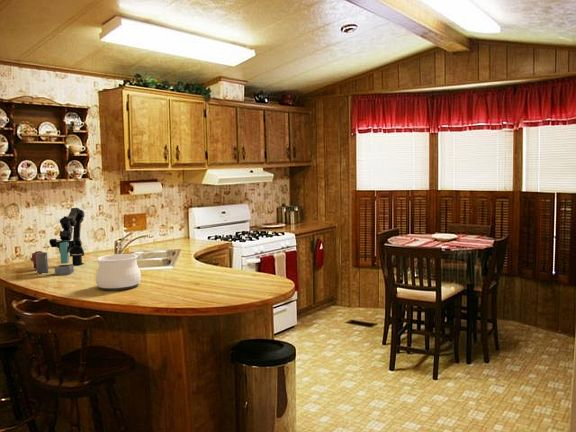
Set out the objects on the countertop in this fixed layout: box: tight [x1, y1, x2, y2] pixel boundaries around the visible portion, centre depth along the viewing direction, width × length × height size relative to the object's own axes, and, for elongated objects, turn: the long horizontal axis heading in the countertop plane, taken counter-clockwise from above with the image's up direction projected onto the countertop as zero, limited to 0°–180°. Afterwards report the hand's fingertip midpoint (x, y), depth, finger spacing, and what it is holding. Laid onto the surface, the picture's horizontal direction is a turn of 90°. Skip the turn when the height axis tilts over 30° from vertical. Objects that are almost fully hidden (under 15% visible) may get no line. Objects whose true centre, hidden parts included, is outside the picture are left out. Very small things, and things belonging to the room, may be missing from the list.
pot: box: [92, 252, 142, 292], centre depth 296 cm, size 28×24×17 cm
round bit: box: [36, 251, 49, 275], centre depth 341 cm, size 7×7×13 cm
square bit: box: [59, 242, 70, 265], centre depth 337 cm, size 4×4×13 cm
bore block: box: [54, 263, 75, 276], centre depth 338 cm, size 9×9×5 cm
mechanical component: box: [30, 250, 43, 271], centre depth 353 cm, size 12×10×10 cm
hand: (63, 253), depth 336 cm, fingers closed on square bit, 4 cm apart
